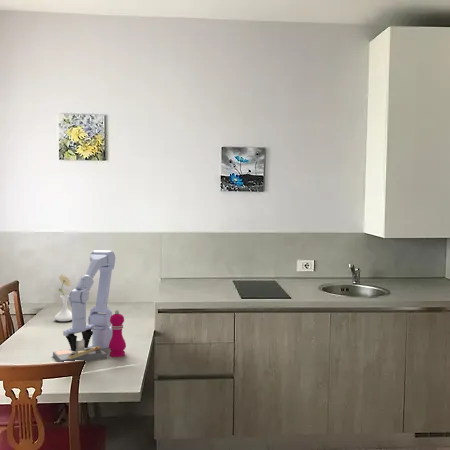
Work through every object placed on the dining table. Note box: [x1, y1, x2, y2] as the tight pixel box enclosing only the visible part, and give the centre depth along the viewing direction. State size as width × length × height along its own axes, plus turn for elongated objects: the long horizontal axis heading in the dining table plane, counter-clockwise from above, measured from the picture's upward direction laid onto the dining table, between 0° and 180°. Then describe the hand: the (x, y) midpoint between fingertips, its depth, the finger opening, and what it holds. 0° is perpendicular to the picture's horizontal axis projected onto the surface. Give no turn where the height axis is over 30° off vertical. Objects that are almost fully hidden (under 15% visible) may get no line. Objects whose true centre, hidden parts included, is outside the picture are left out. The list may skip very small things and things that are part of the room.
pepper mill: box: [108, 309, 127, 358], centre depth 244 cm, size 7×7×20 cm
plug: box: [72, 338, 86, 354], centre depth 241 cm, size 6×6×7 cm
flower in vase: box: [53, 274, 72, 322], centre depth 311 cm, size 13×11×25 cm
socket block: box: [52, 346, 108, 363], centre depth 241 cm, size 19×14×3 cm
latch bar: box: [68, 345, 102, 359], centre depth 236 cm, size 17×2×1 cm, turn 148°
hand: (79, 349), depth 241 cm, fingers open, 6 cm apart
